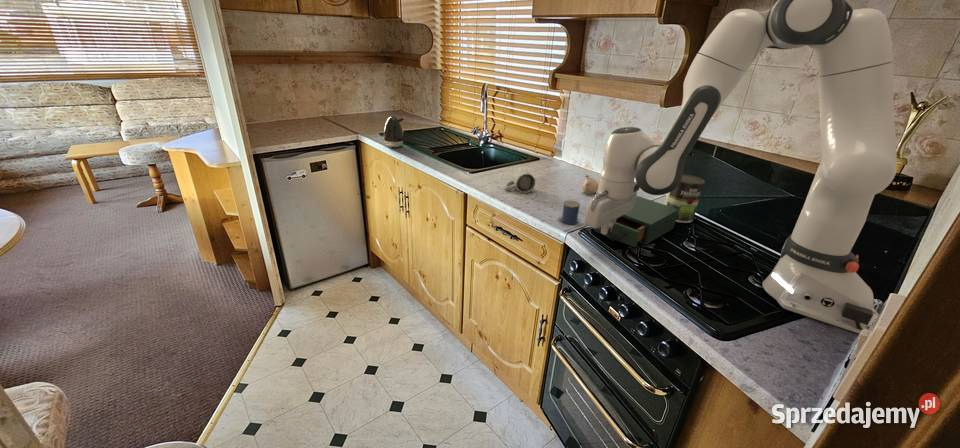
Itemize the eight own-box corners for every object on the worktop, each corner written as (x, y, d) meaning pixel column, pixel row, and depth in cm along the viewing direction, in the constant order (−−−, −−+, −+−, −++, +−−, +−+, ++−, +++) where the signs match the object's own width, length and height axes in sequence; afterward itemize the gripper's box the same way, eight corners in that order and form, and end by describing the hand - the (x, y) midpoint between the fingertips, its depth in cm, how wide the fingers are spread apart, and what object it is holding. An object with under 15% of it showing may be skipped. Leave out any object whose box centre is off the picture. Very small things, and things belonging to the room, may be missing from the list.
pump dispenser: (405, 148, 204) (404, 118, 198) (384, 149, 202) (382, 118, 196) (404, 143, 213) (402, 114, 207) (383, 143, 211) (382, 114, 205)
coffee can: (699, 223, 136) (711, 184, 130) (669, 222, 136) (680, 183, 130) (684, 211, 146) (695, 174, 139) (656, 210, 145) (666, 173, 139)
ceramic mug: (528, 185, 163) (530, 167, 159) (534, 192, 155) (536, 173, 152) (503, 186, 161) (504, 168, 158) (508, 193, 154) (509, 174, 150)
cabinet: (645, 245, 120) (650, 224, 117) (602, 227, 130) (606, 208, 127) (673, 228, 132) (678, 209, 129) (631, 213, 142) (636, 195, 139)
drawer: (626, 252, 114) (629, 236, 111) (585, 234, 122) (588, 220, 120) (662, 231, 127) (666, 217, 125) (623, 216, 136) (626, 203, 134)
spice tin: (580, 221, 133) (583, 204, 131) (570, 225, 130) (573, 207, 127) (567, 216, 137) (570, 199, 134) (558, 220, 133) (560, 202, 131)
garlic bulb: (579, 190, 161) (582, 170, 157) (595, 190, 161) (599, 171, 158) (583, 196, 155) (586, 176, 151) (599, 196, 155) (603, 177, 152)
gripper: (604, 199, 101) (595, 247, 107) (643, 183, 114) (633, 227, 120) (583, 192, 105) (575, 239, 111) (623, 177, 118) (614, 220, 124)
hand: (605, 232), depth 116 cm, fingers closed
